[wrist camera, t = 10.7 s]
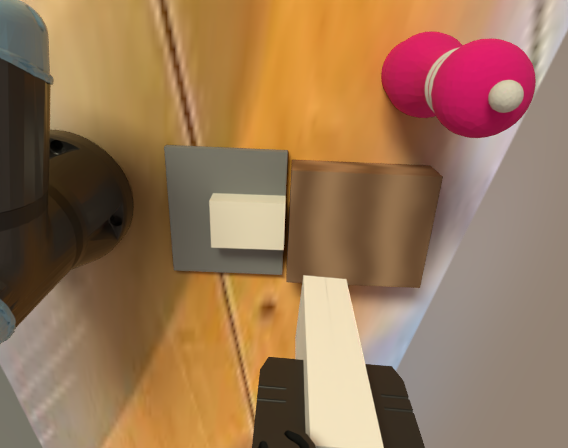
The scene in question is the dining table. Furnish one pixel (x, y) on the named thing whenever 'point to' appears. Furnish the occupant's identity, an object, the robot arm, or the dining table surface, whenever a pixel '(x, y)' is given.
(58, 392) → the dining table surface
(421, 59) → the pepper mill
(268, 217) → the ceramic tile
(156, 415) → the dining table surface
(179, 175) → the charcoal mat
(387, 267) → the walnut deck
